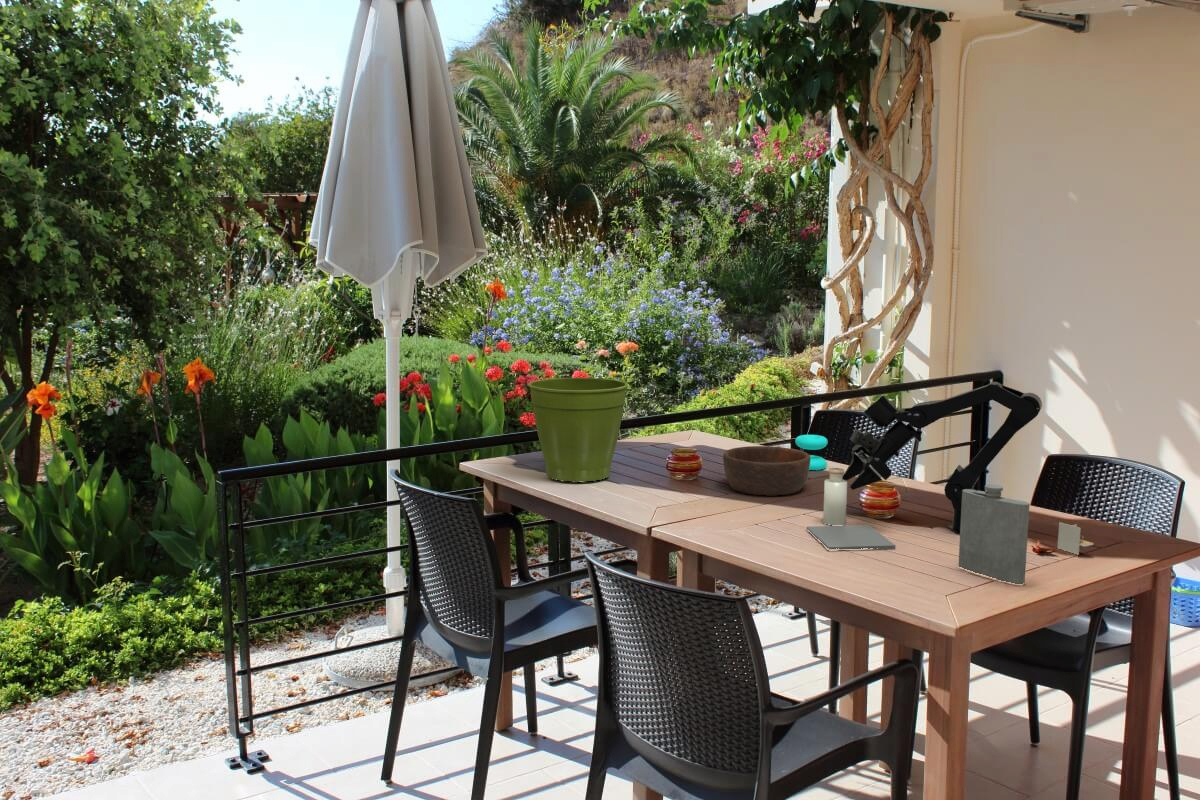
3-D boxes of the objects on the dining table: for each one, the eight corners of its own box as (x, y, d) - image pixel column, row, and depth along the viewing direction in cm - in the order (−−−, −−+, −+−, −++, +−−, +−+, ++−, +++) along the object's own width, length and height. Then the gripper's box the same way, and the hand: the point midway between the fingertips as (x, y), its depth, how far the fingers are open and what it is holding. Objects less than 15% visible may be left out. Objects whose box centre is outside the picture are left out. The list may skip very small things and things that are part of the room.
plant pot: (601, 492, 308) (601, 393, 303) (511, 482, 321) (510, 386, 316) (643, 472, 334) (643, 380, 330) (558, 463, 347) (557, 374, 343)
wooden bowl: (713, 495, 305) (714, 459, 304) (732, 476, 329) (732, 443, 327) (802, 502, 297) (803, 465, 296) (815, 482, 321) (816, 448, 319)
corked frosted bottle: (848, 525, 273) (850, 471, 271) (826, 526, 272) (828, 472, 270) (841, 520, 278) (843, 466, 276) (820, 520, 278) (822, 467, 276)
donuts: (834, 437, 339) (814, 441, 332) (833, 468, 340) (813, 472, 333) (808, 432, 346) (788, 436, 339) (807, 463, 347) (788, 467, 341)
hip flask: (1027, 584, 228) (1033, 491, 224) (1015, 587, 225) (1021, 494, 222) (964, 565, 241) (969, 477, 237) (952, 568, 238) (957, 479, 235)
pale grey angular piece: (1066, 551, 253) (1068, 520, 252) (1092, 558, 247) (1094, 527, 246) (1056, 553, 251) (1058, 522, 250) (1082, 560, 245) (1084, 529, 244)
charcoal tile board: (895, 549, 252) (895, 545, 252) (828, 551, 251) (828, 547, 251) (869, 528, 270) (869, 524, 270) (806, 530, 268) (806, 526, 268)
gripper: (861, 413, 281) (817, 454, 282) (880, 425, 262) (833, 470, 264) (890, 443, 282) (846, 484, 283) (911, 457, 263) (864, 501, 265)
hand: (846, 484), depth 274 cm, fingers open, 9 cm apart
